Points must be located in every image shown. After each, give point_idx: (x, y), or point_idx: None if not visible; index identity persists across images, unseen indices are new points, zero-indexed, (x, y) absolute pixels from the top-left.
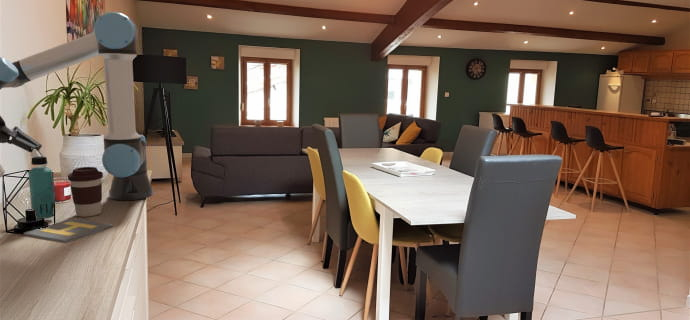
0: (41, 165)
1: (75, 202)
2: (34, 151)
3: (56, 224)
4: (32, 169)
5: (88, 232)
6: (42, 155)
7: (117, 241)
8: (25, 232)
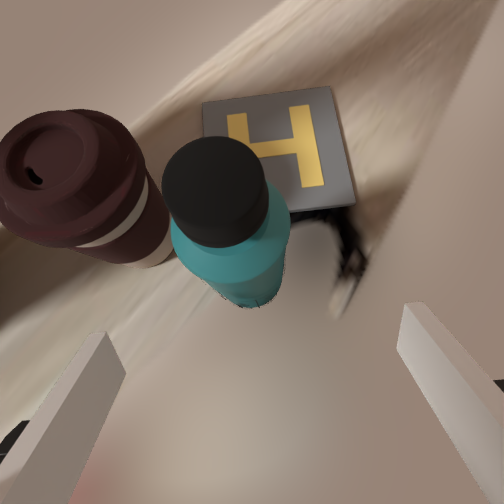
0: (109, 373)
1: (168, 222)
2: (12, 502)
3: None
4: (271, 218)
5: (268, 95)
6: (2, 442)
7: (267, 31)
8: (351, 202)
